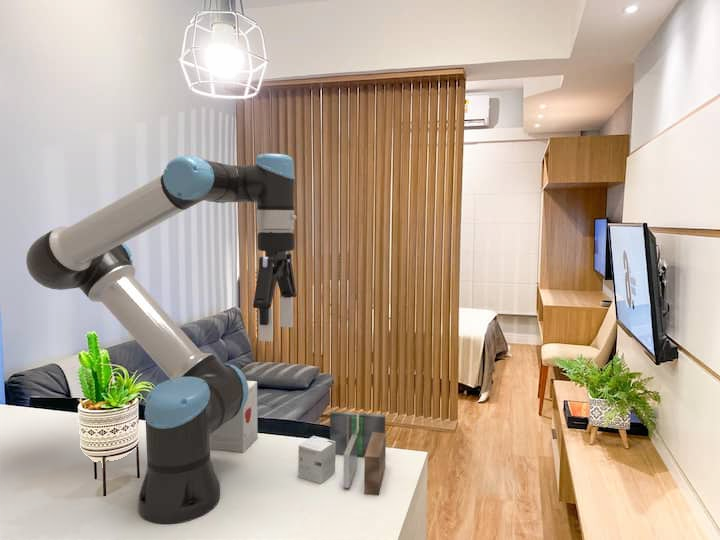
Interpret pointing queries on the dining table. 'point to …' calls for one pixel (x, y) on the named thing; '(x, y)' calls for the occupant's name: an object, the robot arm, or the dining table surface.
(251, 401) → the supplement box
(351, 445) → the plate
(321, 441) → the skincare box
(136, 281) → the robot arm
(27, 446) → the dining table surface
